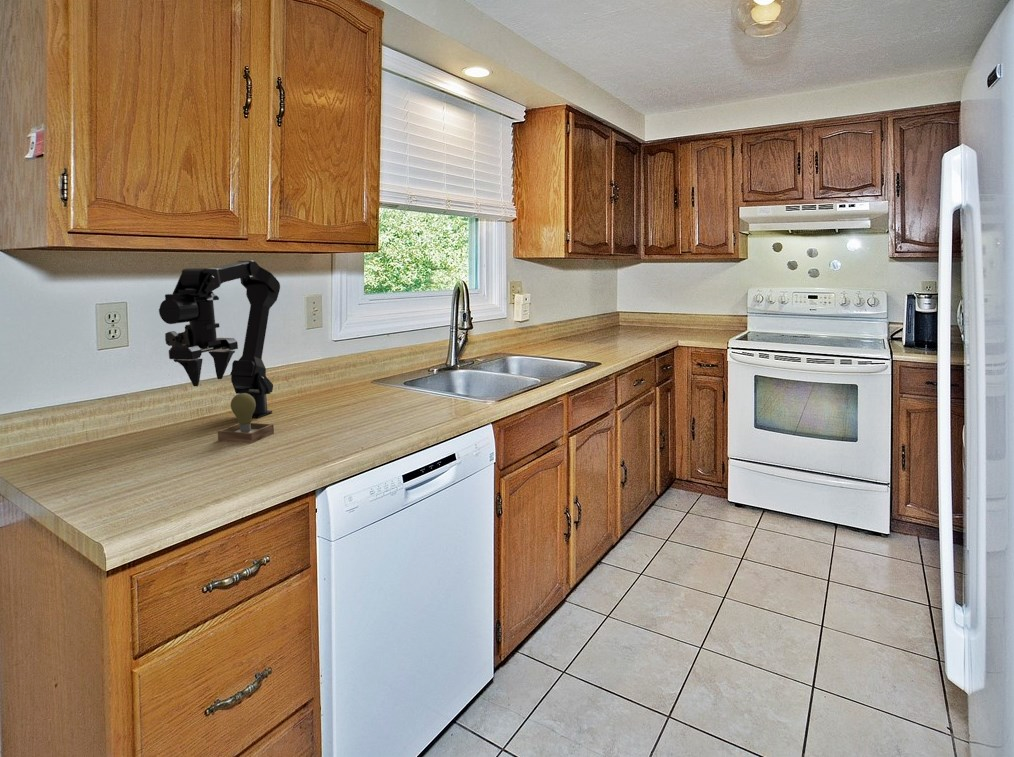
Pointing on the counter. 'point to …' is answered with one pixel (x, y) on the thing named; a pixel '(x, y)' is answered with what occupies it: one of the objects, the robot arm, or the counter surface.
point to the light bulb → (243, 410)
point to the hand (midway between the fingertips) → (208, 382)
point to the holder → (236, 435)
